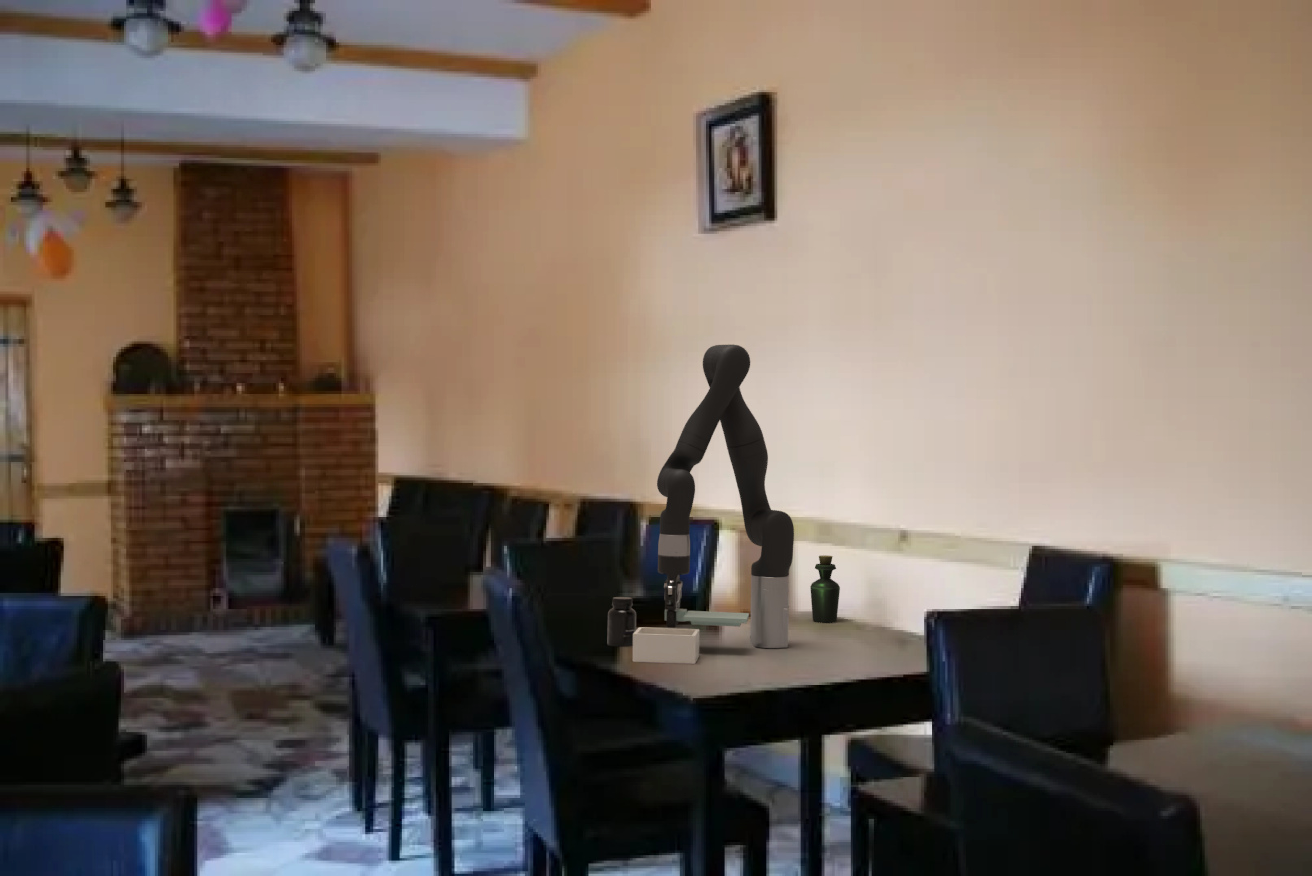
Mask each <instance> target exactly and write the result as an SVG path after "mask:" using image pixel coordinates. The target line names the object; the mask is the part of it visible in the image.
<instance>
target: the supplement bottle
mask: <svg viewBox="0 0 1312 876" xmlns="http://www.w3.org/2000/svg"><path fill="white" fill-rule="evenodd" d="M611 603H612V604H611V606H612V608H610V609H609V610H608V612H607V639H606V640H607V643H606V644H607V646H611V647H622V648H623V647H625V648H627V647H633V633H634V632H635V631H636V630H637V612H636V610H635V609H633V608H632V607H633V605H634V604H633V597H628V596H627V597H626V596H616V597H615V596H614V597H612V602H611Z"/></svg>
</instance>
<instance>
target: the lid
mask: <svg viewBox="0 0 1312 876" xmlns="http://www.w3.org/2000/svg"><path fill="white" fill-rule="evenodd" d="M749 618H750V613H749V612H728V611H704V610H703V611H702V610H688V609H687V608H679V609H677V612H676V621H678V622H690V625H692V626H693V625H695V626H717V627H718V626H719V627H720V626H721V627H741V625H742V624H747V623H748V620H749ZM664 621H666V622H667V611H666V609H664Z"/></svg>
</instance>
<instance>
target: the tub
mask: <svg viewBox="0 0 1312 876" xmlns="http://www.w3.org/2000/svg"><path fill="white" fill-rule="evenodd" d="M699 657H700V629H699V628H676V627H675V628H668V627H647V626H645V627H644V626H643V627H638V628H636V631H635V632H634V633H633V646H632V662H634V663H657V664H658V663H661V664H687V665H695V664H696V663H697V661H698V659H699Z"/></svg>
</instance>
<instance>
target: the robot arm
mask: <svg viewBox="0 0 1312 876" xmlns="http://www.w3.org/2000/svg"><path fill="white" fill-rule="evenodd" d="M750 368H751V357H750V354H749V352H748V351H747V349H746V348H745V347H743V346H741V345H738V344H715V345H712V346H710V347H709V348H708V349H707V350H706V351H705V353H704V355H703V359H702V369H703V370H702V371H703V373H704V376H705V379H706V382H707V384H708V388H709V389H708V391H707V393H706V395H705V396H704V398H702V401H701V402H700V403H699V405H698V406H697V407H696V408H695V410H694V411H693V412H692V413H691V415H690V416H689V418H688V420H687V421H686V423H685V424H684V427H683V428H682V431H681V433H680V436H679V437H678V439H677V443H676V445H675V448H674V449H673V451H672V452H671V454H670V455H669V457H668V458H667V460H665V461H666V462H665V463H664V464H663V466H662V467H661V469H660V471H659V473H658V476H657V481H656V487H657V490H658V492H659V494H661V496H663V497H666V505H665V509H664V510H662V511H661V512H660V517H659V518H660V519H659V537H658V543H657V544H658V547H657V550H658V551H657V572H658V573H659V574H662V575H666V576H667V577H666V580H665V581H664V585H663V588H664V610H666V611H667V621H666V624H665V625H666V626H665V627H666V628H676V627H677V625H678V624H679V621H676V612H677V609H680V607H681V599H682V588H683V581H682V580H680V576H681V575H688V574H689V573H690V571H691V570H690V565H691V560H690V559H691V539H690V528H691V527H690V523H691V522H690V516H691V513H692V509H693V505H694V501H695V499H694V498H695V495H696V484H695V483H696V482H695V479H694V476H693V475H692V473H691V472H692V471H693V468H694V467H695V466H696V465H698V464H700V463H701V462H702V460H703V459H704V457H705V454H706V452H707V450H708V447H709V445H710V443H711V440H712V437H713V435H714V432H715V431H716V429H717V427H718V425H719V423H720V425H721V429H722V431H723V437H724V440H725V444H726V449H727V452H728V456H729V459H730V463H731V466H732V470H733V474H734V478H735V482H736V485H737V491H738V493H739V494H738V495H739V498H740V504H741V511H742V512H741V513H742V518H743V522H744V528H745V532H746V535H747V538H748V539H749V541H750V542H751V543H752V544H754V545H756V546H759V547H761V550H760V551H761V552H760V557H759V558H758V560H756V561H754V562H753V563H752V564H751V567H750V569H751V571H750V572H751V573H750V575H751V576H750V625H749V626H750V632H749V634H750V635H749V639H750V640H749V641H750V643H749V644H751V646H753V647H755V648H761V649H762V648H763V649H764V648H767V649H779V648H788V647H789V618H790V616H789V615H790V614H789V611H790V608H789V607H790V605H789V597H790V596H789V590H790V589H789V587H790V586H789V585H790V584H789V583H790V582H789V581H790V580H789V579H790V576H789V575H790V568H791V566H792V562H793V559H794V544H795V543H794V540H795V529H794V523H793V519H792V518H791V516H790V515H789V514H788V513H787V512H785V511H782V510H775V509H772V508H771V506H770V503H769V499H768V496H767V492H766V485H765V483H766V477H767V476H766V475H767V470H768V465H769V464H768V463H769V454H768V449H767V446H766V445H767V444H766V441H765V437H764V433H763V430H762V429H761V425H760V424H759V422H758V421H757V419H756V417H755V416H754V414H753V412H752V410H751V409H750V408H749V407H748V404H746V401H745V400H744V397H743V395H742V391H741V388H740V387H741V384H742V383H743V382H744V380H745V379H746V377H747V375H748V373H749V371H750Z"/></svg>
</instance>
